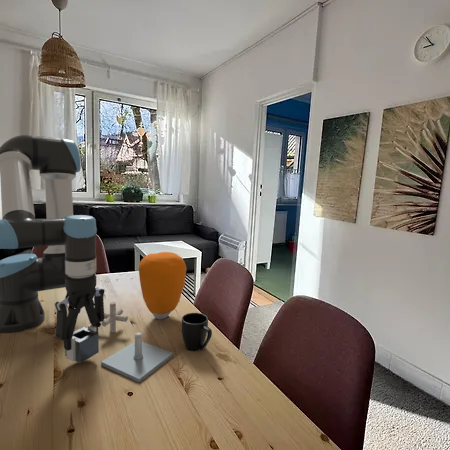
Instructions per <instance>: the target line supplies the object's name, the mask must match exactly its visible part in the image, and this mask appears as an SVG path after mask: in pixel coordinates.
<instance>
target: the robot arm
mask: <svg viewBox="0 0 450 450" xmlns="http://www.w3.org/2000/svg"><path fill="white" fill-rule="evenodd" d="M81 167H82V166H81V156H80V152H79V148H78V146H77V144H76V142H75V141H73V140H72V139H67V138H62V137H52V136H40V135H32V134H20V135H17V136H14V137H11V138H9V139H8V140H6V141H4V143H2V145H1V146H0V195H1V197H0V199H1V218H2V219H0V250H1V249H2V250H8V249H9V250H10V249H11V250H13V249H14V250H16V249H23V248H24V249H25V248H35V247H37V248H39V247H47V248H45V250H44V251H43V252H42V253H43V257H38V256H37V255H36V254H35V253H20V254H16V255H15V254H14V255H11V256H8V257H5V258H3V259H0V333H2V334H5V333H6V334H8V333H9V334H10V333H12V334H13V333H18V332H23V331H27V330H30V329H33V328H35V327H37V326H39V325H41V324H42V323H43V322H44V321H45V318H46V317H45V314H46V313H45V310H44V308H43V305H42V303H41V301H40V299H39V292H42V291H43V292H44V291H49V290H50V291H51V290H56V289H62V288H64V289H65V290H66V294H65V297H64V299H62V300H61V301H56V302H55V303H54V306H55V309H56V324H55V327H56V328H55V337H56V339H59V340H61V341H63V348H64V350H65V349H66V352H67V357H66V359H67V360H69V361H71V362H76V361H75V360H76V354H75V337H73V333H74V331H75V329H76V325H77V320H78V317H79V314H80V313H81V309H82V308H84V310H85V312H86V314H87V318H88V320H89V323H90V324H89V325H87V328H88V329H90V330H93V331H95V332H98V333H99V328H100V327H101V326H102V322H103V321H104V320H105V319H104V313H105V304H104V295H105V289H103V288H101V287H97V274H96V272H97V232H98V228H97V221H96V220H97V219H96V218H95V217H93V216H92V215H85V214H84V215H83V214H79V215H78V214H75V215H74V203H73V181H74V179H75V178H76V177H77V173H79V172H80V171H81ZM31 170H35V171H39V172H38V173H39V176H40V177H41V178H42V179H43V180H44V186H45V187H44V189H45V208H46V209H45V212H46V218H36V214H35V206H34V200H33V193H32V192H33V191H32V182H31V176H30V175H31V174H30V172H31Z"/></svg>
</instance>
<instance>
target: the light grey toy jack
mask: <svg viewBox="0 0 450 450" xmlns="http://www.w3.org/2000/svg"><path fill="white" fill-rule="evenodd" d="M116 306H117V304H116V302H115V301H111V302H110V303H109V313H108V312H104V321H103V322H101V326H102V327H105V328H106V327H107V326H108V325H109V332H110V333H112V334H113V333H116V332H117V329H116V328H117V325H116V324H117V321H118V322H125V323H127V322H128V319H129V317H128V316H127V315H123V313H124V310H123V309H122V308H119V309H117V307H116ZM116 309H117V310H116Z"/></svg>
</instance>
